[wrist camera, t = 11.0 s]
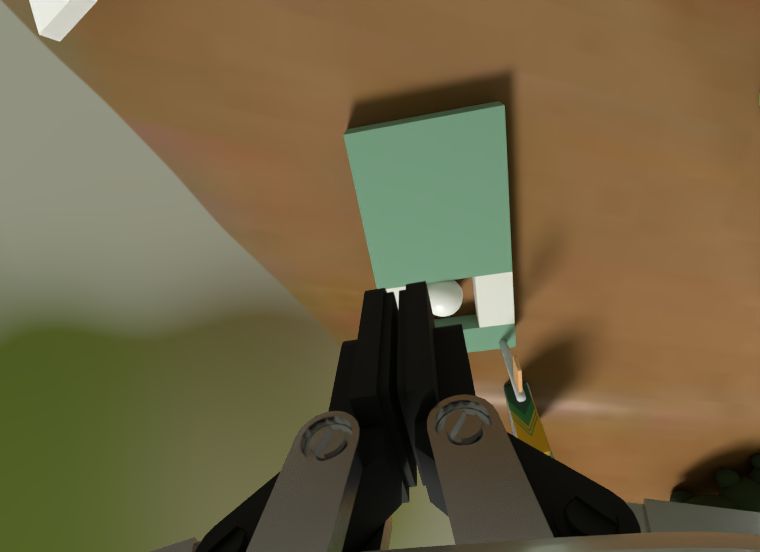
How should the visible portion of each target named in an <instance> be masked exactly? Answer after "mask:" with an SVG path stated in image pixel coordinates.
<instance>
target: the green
mask: <svg viewBox="0 0 760 552" xmlns="http://www.w3.org/2000/svg"><path fill="white" fill-rule="evenodd" d="M344 139H345V144H346V148H347V153H348V158H349V162H350V167H351V171H352V176H353V181H354V185H355V190H356V194H357V199H358V204H359V208H360V213H361V218H362V222H363V227H364V231H365V236H366V241H367V245H368V250H369V254H370V259H371V264H372V268H373V273H374V277H375V282H376V287H377V289H381V288H385V289H386V291H387V293H388V292H394V295H395V298H396V302H397V306H398V308H399V291H400V290H406V284H410V283H416V282H422V281H426V283H433V282H441V281H448V280H455V279H462V278H470V277H472V278H473V288H474V299H475V309H476V314H472V315H464V316H457V317H449V318H441V319H434V322H435V327H443V326H449V325H456V324H462V328H463V333H464V338H465V343H466V348H467V352H476V351H485V350H493V349H501V351H502V355H503V358H504V361H505V364H506V367H507V370H508V373H509V376H510V380H511V383H512V386H513V389H514V392H515V395H516V398H517V401H519V402H523V401H525V400H526V396H525V393H524V390H523V387H522V370H521V367H520V365H519V362H518V359H517V356H516V355H515V356H513V358H512V356H511V353H510V350H509V348H510V347H516V340H515V319H514V297H513V275H512V253H511V231H510V209H509V187H508V165H507V143H506V122H505V105H504V104H502V103H501V102H499V101H495V102H490V103H485V104H479V105H474V106H469V107H463V108H458V109H453V110H447V111H442V112H436V113H431V114H426V115H420V116H415V117H410V118H404V119H399V120H394V121H388V122H383V123H377V124H372V125H367V126H361V127H356V128H351V129H347V130H346V132H345V133H344Z"/></svg>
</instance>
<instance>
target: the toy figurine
mask: <svg viewBox="0 0 760 552" xmlns="http://www.w3.org/2000/svg"><path fill="white" fill-rule="evenodd" d="M751 461H752V465H753V466H754V467H755V469H753V470H752V471H751V472H750V475H749V477H748V478H740V477H739V476H738V474H737V473H736V472H735V471H732V470H729V469H723V470H719V471H718V473H717V474H716V476H715V477H716V479H717V481H718V483H719V485H720V487H721V488H722V489H721V490H720V493H719V496H716V495H701V496H697V497H694V496H693V495H691V494H690V493H689V492H685V491H681V490H680V491H675V492H674V493H672V494H671V497H670V502H677V503H685V504H694V505H702V506H710V507H719V508H727V509H735V510H743V511H752V512H760V454H756V455H754V456H752V458H751Z"/></svg>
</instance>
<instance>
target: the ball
mask: <svg viewBox="0 0 760 552" xmlns="http://www.w3.org/2000/svg"><path fill="white" fill-rule="evenodd" d="M427 288H428V293H429V298H430V303H431V308H432V313H433V314H434V315H436V316H440V317H446V316H450V315H452V314H454V313H455V312H456V311H457V310H458V309H459V308H460V306H461V304H462V301H463V292H462V289H461V287H460V285H459V284H458V283H457V282H456V281H455V280H448V281H441V282H433V283H427Z"/></svg>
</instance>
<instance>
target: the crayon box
mask: <svg viewBox="0 0 760 552" xmlns="http://www.w3.org/2000/svg"><path fill="white" fill-rule="evenodd" d="M522 387H523V390H524V393H525V396H526V400H525V401H523V402H519V401H517V398H516V395H515V392H514V389H513V386H512V385H507V386H504V391H505V397H506V402H507V407H508V412H509V417H510V421H511V427H512V430H513V435H514V436H515V437H516V438H518V439H520V440H522V441H524V442H525V443H527V444H529V445H531V446H532V447H534V448H536V449H538V450H539V451H541V452H543V453H545V454H546V455H548V456H550V457H552V458H553V459H554V457H553V454H552V452H551V450H550V447H549V444H548V441H547V438H546V435H545V432H544V429H543V427H542V424H541V420H540V418H539V415H538V412H537V409H536V406H535V403H534V400H533V397H532V394H531V391H530V388H529V385H528V383H527V382H523V383H522Z"/></svg>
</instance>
